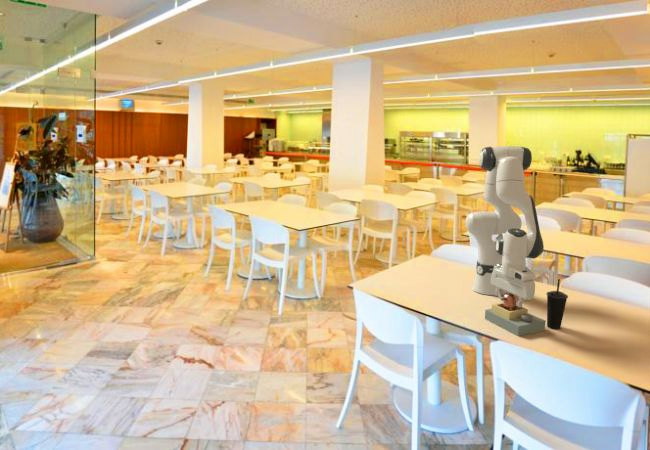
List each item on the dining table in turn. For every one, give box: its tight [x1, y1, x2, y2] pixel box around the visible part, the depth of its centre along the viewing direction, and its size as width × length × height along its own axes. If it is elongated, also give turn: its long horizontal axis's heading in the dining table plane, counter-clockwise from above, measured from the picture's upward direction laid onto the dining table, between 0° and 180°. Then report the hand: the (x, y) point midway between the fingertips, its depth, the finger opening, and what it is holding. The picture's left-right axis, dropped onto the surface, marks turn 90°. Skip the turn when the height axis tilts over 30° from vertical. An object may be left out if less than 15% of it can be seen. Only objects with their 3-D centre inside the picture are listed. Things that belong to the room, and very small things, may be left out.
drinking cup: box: [546, 278, 569, 330], centre depth 189 cm, size 8×8×20 cm
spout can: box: [500, 293, 518, 311], centre depth 192 cm, size 7×5×9 cm
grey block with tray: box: [484, 302, 547, 337], centre depth 192 cm, size 14×18×7 cm
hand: (509, 302), depth 193 cm, fingers open, 8 cm apart
